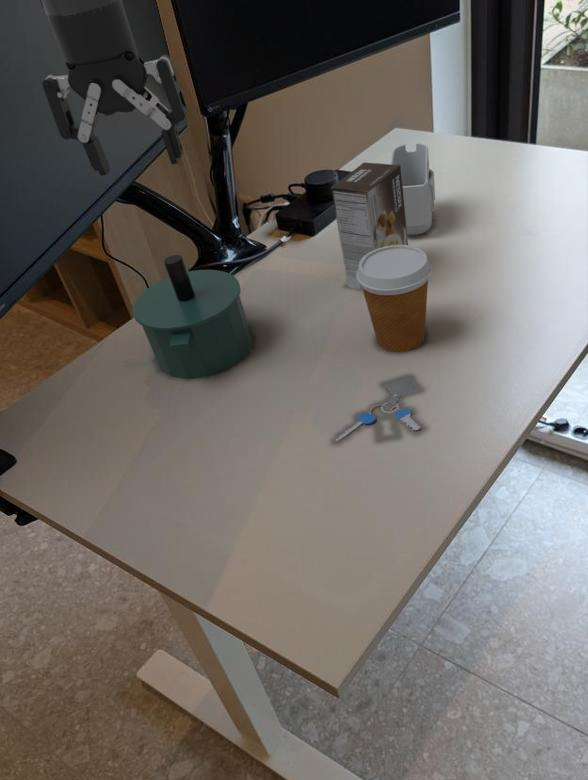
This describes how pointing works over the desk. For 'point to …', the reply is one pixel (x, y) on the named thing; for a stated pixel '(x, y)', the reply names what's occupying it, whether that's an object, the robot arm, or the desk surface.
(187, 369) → the pot
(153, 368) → the desk surface
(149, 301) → the lid
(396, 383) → the key chain
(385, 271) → the disposable coffee cup
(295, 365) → the desk surface
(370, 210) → the coffee box
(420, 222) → the cable organizer
